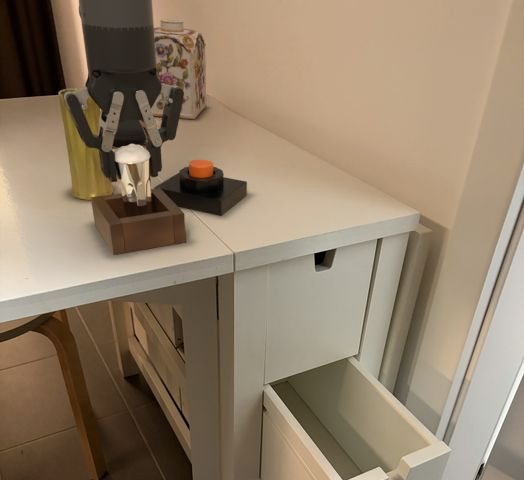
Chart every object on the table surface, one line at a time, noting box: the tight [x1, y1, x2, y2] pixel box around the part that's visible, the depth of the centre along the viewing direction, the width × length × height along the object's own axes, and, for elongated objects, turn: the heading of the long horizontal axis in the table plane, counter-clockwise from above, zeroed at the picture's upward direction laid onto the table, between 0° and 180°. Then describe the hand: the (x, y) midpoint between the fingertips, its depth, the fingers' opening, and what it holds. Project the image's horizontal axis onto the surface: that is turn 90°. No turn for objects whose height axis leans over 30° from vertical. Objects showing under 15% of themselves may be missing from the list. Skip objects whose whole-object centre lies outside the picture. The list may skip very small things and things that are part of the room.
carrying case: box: [112, 119, 147, 147], centre depth 107 cm, size 11×3×15 cm
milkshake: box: [114, 144, 152, 217], centre depth 69 cm, size 4×5×10 cm
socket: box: [90, 188, 186, 256], centre depth 72 cm, size 10×10×4 cm
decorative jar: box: [151, 18, 207, 120], centre depth 120 cm, size 12×12×18 cm
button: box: [188, 159, 214, 178], centre depth 82 cm, size 4×4×2 cm
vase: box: [58, 87, 114, 201], centre depth 80 cm, size 6×6×14 cm
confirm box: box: [153, 166, 248, 216], centre depth 83 cm, size 11×9×4 cm
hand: (133, 176), depth 69 cm, fingers closed on milkshake, 4 cm apart
